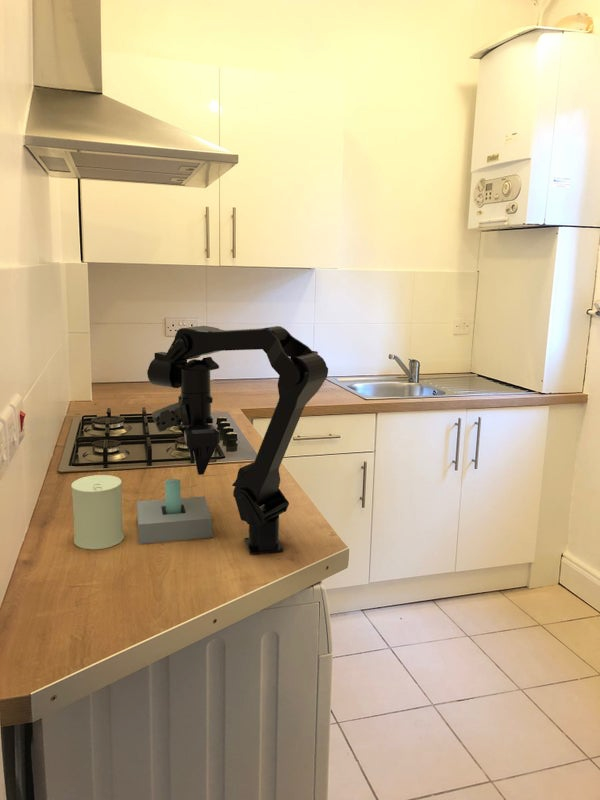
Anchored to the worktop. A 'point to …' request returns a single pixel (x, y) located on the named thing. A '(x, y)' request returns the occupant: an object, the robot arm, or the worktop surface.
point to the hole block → (173, 521)
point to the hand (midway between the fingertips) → (197, 467)
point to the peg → (173, 496)
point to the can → (97, 511)
